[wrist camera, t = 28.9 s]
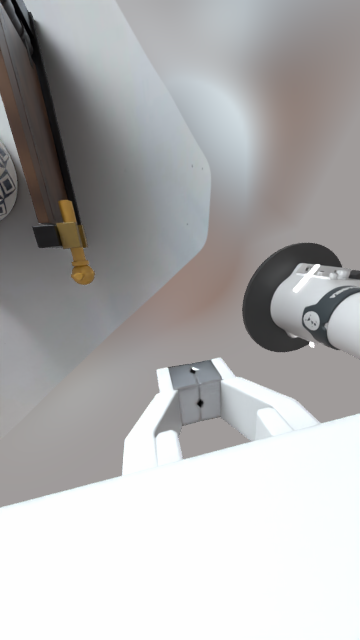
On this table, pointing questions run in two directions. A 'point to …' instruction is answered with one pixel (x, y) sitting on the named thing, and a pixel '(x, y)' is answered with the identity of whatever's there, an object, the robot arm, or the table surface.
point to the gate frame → (70, 231)
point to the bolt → (76, 249)
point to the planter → (7, 182)
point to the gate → (29, 117)
